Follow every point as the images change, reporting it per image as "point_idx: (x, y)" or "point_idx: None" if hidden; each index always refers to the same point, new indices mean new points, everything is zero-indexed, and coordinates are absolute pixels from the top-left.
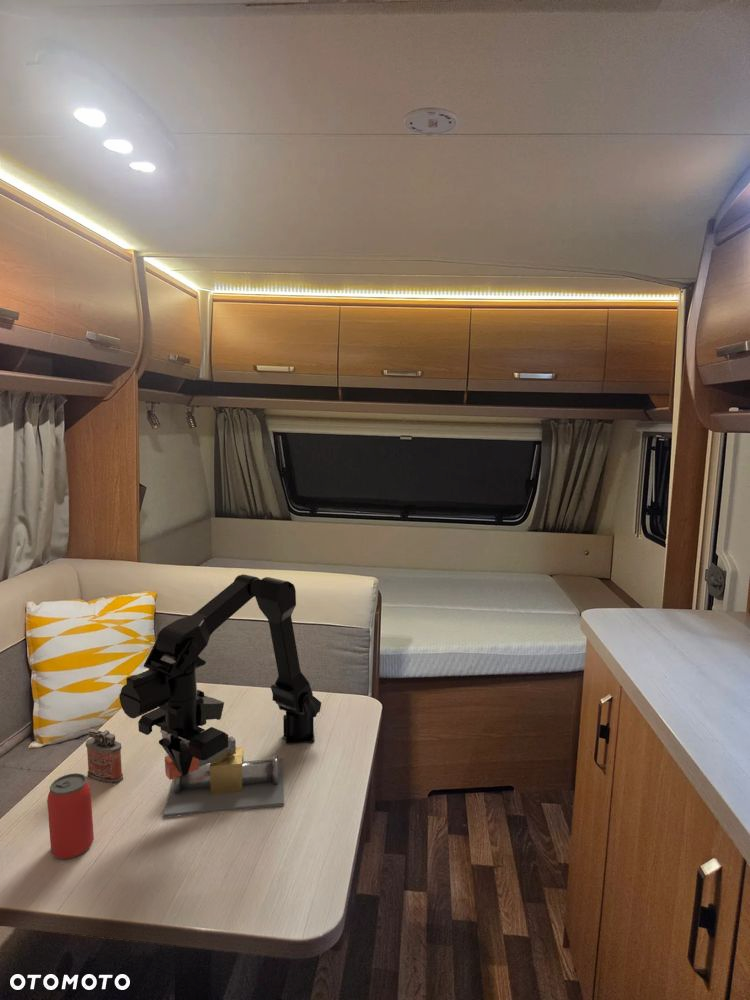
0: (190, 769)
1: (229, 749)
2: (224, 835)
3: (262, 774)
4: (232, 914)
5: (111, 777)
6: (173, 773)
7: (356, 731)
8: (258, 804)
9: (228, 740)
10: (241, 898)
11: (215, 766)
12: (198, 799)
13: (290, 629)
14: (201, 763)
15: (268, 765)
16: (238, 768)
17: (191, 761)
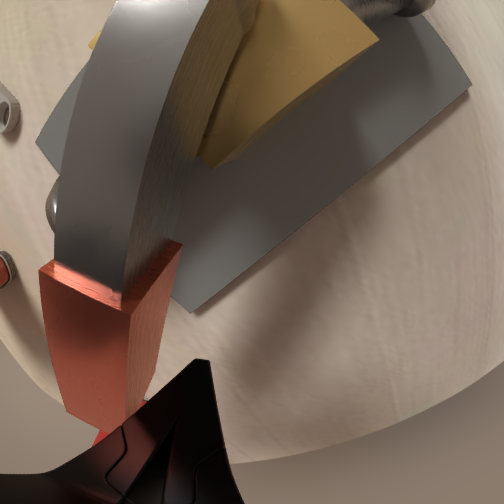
0: (165, 299)
1: None
2: (407, 269)
3: (389, 10)
4: (479, 368)
5: (4, 283)
6: (148, 376)
7: None
8: (427, 118)
9: None
10: (485, 348)
11: (241, 141)
12: (219, 204)
13: None
14: (169, 225)
15: None
16: (354, 57)
17: (219, 421)
